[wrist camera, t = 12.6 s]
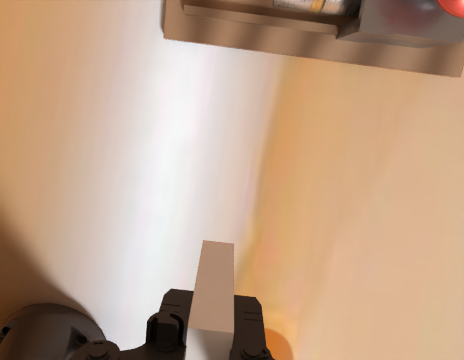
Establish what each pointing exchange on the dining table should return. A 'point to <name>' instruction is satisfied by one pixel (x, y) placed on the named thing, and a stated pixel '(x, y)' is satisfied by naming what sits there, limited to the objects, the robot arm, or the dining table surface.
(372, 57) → the board
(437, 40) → the gate valve
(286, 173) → the dining table surface
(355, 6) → the pipe
